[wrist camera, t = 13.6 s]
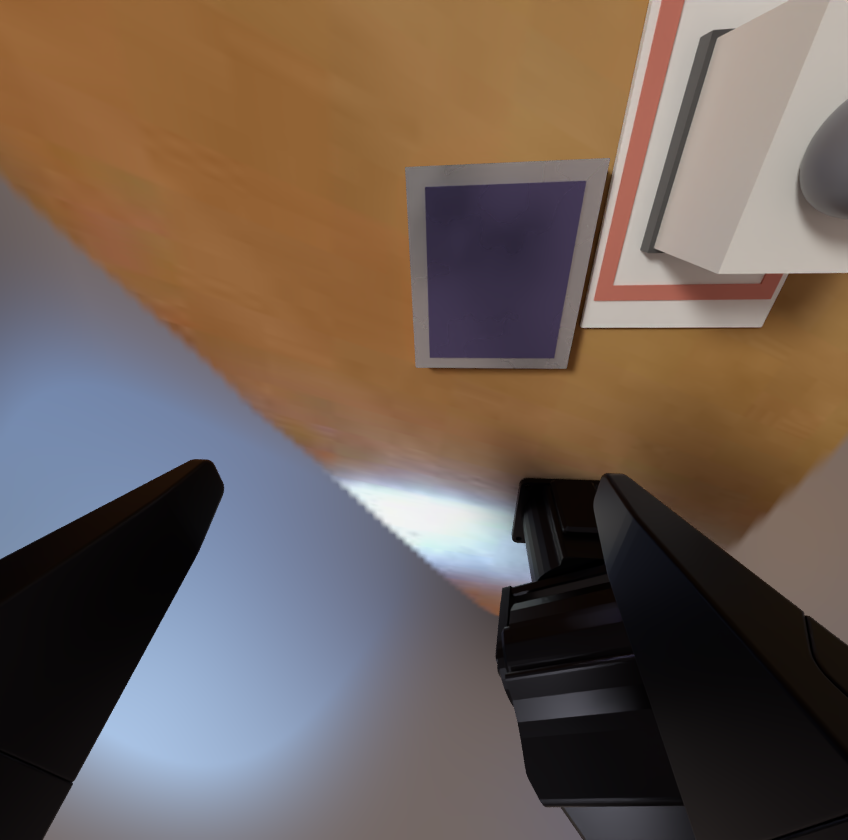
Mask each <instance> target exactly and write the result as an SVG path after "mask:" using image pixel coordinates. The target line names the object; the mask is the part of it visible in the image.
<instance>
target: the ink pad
mask: <svg viewBox="0 0 848 840" xmlns="http://www.w3.org/2000/svg"><path fill="white" fill-rule="evenodd" d="M609 161H610V158H602V159H579V160H556V161H534V162H511V163H488V164H465V165H443V166H420V167H405V172H406V191H407V210H408V229H409V248H410V267H411V286H412V305H413V324H414V343H415V362H416V368H536V369H567V364H568V359H569V354H570V350H571V345H572V340H573V335H574V330H575V325H576V321H577V316H578V311H579V306H580V301H581V297H582V292H583V287H584V282H585V277H586V272H587V268H588V263H589V258H590V253H591V248H592V243H593V239H594V234H595V229H596V224H597V219H598V214H599V210H600V205H601V200H602V195H603V190H604V186H605V181H606V176H607V171H608V166H609Z"/></svg>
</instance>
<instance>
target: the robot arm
mask: <svg viewBox="0 0 848 840" xmlns="http://www.w3.org/2000/svg"><path fill="white" fill-rule="evenodd" d="M526 485H529V486H526ZM223 493H224V484H223V482H222V480H221V478H220V475H219V473H218V471H217V469H216V467H215V465H214V464H213V462H211V461H210V460H202V459H194V460H190V461H188V462H186V463H184V464H182V465H180V466H178V467H176V468H174V469H173V470H171V471H169V472H167V473H165V474H163V475H161V476H159V477H157V478H155V479H153V480H151V481H150V482H148V483H146V484H144V485H142V486H140V487H138V488H136V489H134V490H132V491H130V492H128V493H127V494H125V495H123V496H121V497H119V498H117V499H115V500H113V501H112V502H109V503H107V504H105V505H103V506H102V507H100V508H98V509H96V510H94V511H92V512H90V513H88V514H86V515H84V516H83V517H80V518H79V519H77V520H75V521H73V522H71V523H69V524H67V525H65V526H63V527H61V528H59V529H57V530H56V531H54V532H52V533H50V534H48V535H46V536H44V537H42V538H40V539H38V540H36V541H34V542H32V543H31V544H29V545H27V546H25V547H23V548H21V549H19V550H17V551H15V552H13V553H11V554H9V555H7V556H6V557H4V558H2V559H0V840H43V838H44V836H45V835H46V833H47V831H48V829H49V827H50V825H51V823H52V822H53V820H54V818H55V816H56V814H57V812H58V811H59V809H60V807H61V805H62V803H63V801H64V799H65V798H66V796H67V794H68V792H69V790H70V789H71V786H72V785H73V783H72V782H73V781H74V780H75V779H76V777H77V775H78V773H79V771H80V769H81V768H82V766H83V764H84V762H85V760H86V758H87V757H88V755H89V753H90V751H91V749H92V747H93V745H94V744H95V742H96V740H97V738H98V736H99V735H100V733H101V731H102V729H103V727H104V725H105V723H106V722H107V720H108V718H109V716H110V714H111V713H112V711H113V709H114V707H115V705H116V703H117V702H118V700H119V698H120V696H121V694H122V692H123V690H124V689H125V687H126V685H127V683H128V681H129V679H130V677H131V676H132V674H133V672H134V670H135V668H136V667H137V665H138V663H139V661H140V659H141V657H142V656H143V654H144V652H145V650H146V648H147V646H148V644H149V643H150V641H151V639H152V637H153V635H154V633H155V632H156V630H157V628H158V626H159V624H160V622H161V620H162V619H163V617H164V615H165V613H166V611H167V610H168V607H169V606H170V604H171V602H172V600H173V598H174V597H175V595H176V593H177V591H178V589H179V587H180V586H181V584H182V582H183V580H184V578H185V576H186V575H187V573H188V571H189V569H190V567H191V565H192V564H193V562H194V560H195V558H196V556H197V554H198V552H199V550H200V548H201V545H202V543H203V541H204V539H205V536H206V534H207V531H208V529H209V527H210V524H211V522H212V519H213V517H214V515H215V513H216V510H217V508H218V505H219V503H220V501H221V498H222V496H223ZM512 540H513V541H514V542H516V543H526V549H527V555H528V561H529V567H530V573H531V579H532V582H530V583H527V584H523V585H519V586H515V587H511V586H508V587H504V588H502V597H501V603H500V614H499V625H498V636H497V645H496V661H497V664H498V665H497V669H498V673H499V676H500V677H501V679H502V682H503V685H504V689H505V691H506V694H507V696H508V698H509V700H510V702H511V704H512V705H513V706H514V709H515V713H516V717H517V721H518V727H519V732H520V738H521V744H522V750H523V756H524V763H525V769H526V774H527V777H528V779H529V781H530V783H531V784H532V786H533V788H534V790H535V792H536V794H537V796H538V798H539V800H540V801H541V803H542V804H543V805H544V806H545V807H561V809H562V810H563V811H564V813H565V814H566V816H567V817H568V819H569V820H570V822H571V823H572V825H573V826H574V827H575V829H576V830H577V831H578V833H579V835H580V836H581V838H582V839H583V840H848V645H847V644H845V643H844V642H843V641H841V640H840V639H839V638H837V637H836V636H835V635H834V634H832V633H831V632H830V631H828V630H827V629H826V628H824V627H823V626H822V625H820V624H819V623H818V622H817V621H815V620H814V619H813V618H811V617H810V616H805V615H804V612H803V611H802V610H801V609H799V608H798V607H797V606H796V605H794V604H793V603H792V602H790V601H789V600H788V599H786V598H785V597H784V596H783V595H781V594H780V593H778V592H777V591H776V590H775V589H773V588H772V587H771V586H770V585H768V584H767V583H766V582H764V581H763V580H762V579H760V578H759V577H758V576H757V575H755V574H754V573H753V572H751V571H750V570H749V569H747V568H746V567H745V566H743V565H742V564H741V563H740V562H738V561H737V560H736V559H734V558H733V557H732V556H731V555H729V554H728V553H727V552H725V551H724V550H723V549H721V548H720V547H719V546H718V545H716V544H715V543H714V542H712V541H711V540H710V539H708V538H707V537H706V536H705V535H703V534H702V533H701V532H699V531H698V530H697V529H695V528H694V527H693V526H692V525H690V524H689V523H688V522H686V521H685V520H684V519H682V518H681V517H680V516H679V515H677V514H676V513H675V512H673V511H672V510H671V509H669V508H668V507H667V506H666V505H664V504H663V503H662V502H660V501H659V500H658V499H656V498H655V497H654V496H653V495H651V494H650V493H649V492H647V491H646V490H645V489H643V488H642V487H641V486H640V485H638V484H637V483H636V482H634V481H633V480H632V479H630V478H629V477H628V476H626V475H624V474H615V473H606V474H604V475H603V476H602V477H601V480H600V481H592V480H564V479H535V478H525V479H523V480H521V481H520V484H519V490H518V497H517V503H516V509H515V516H514V522H513V528H512Z"/></svg>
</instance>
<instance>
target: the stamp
mask: <svg viewBox="0 0 848 840" xmlns="http://www.w3.org/2000/svg"><path fill="white" fill-rule="evenodd" d="M640 250H641V251H644V252H646V253H667V254H670V255H672V256H674V257H677V258H679V259H682V260H684V261H687V262H689V263H692V264H694V265H697V266H699V267H702V268H704V269H707V270H709V271H712V272H714V273H717V274H772V273H848V0H789V1H787V2H785V3H783V4H781V5H779V6H777V7H775V8H774V9H772V10H770V11H768V12H766V13H764V14H762V15H760V16H758V17H756V18H755V19H753V20H751V21H749V22H747V23H745V24H743V25H741V26H739V27H737V28H734V29H719V30H712V31H710V32H709V33H707V34H705V35H703V36H702V37H700V40H699V44H698V47H697V51H696V54H695V58H694V61H693V65H692V68H691V72H690V75H689V79H688V83H687V86H686V90H685V93H684V97H683V100H682V104H681V107H680V111H679V114H678V118H677V121H676V125H675V128H674V132H673V135H672V139H671V143H670V146H669V150H668V153H667V157H666V160H665V164H664V167H663V171H662V174H661V178H660V181H659V185H658V188H657V192H656V196H655V199H654V203H653V206H652V210H651V213H650V217H649V220H648V224H647V227H646V231H645V234H644V238H643V241H642V245H641V248H640Z"/></svg>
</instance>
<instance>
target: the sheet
mask: <svg viewBox="0 0 848 840" xmlns="http://www.w3.org/2000/svg"><path fill="white" fill-rule="evenodd" d="M787 1H789V0H649V5H648V10H647V14H646V19H645V24H644V28H643V33H642V38H641V42H640V47H639V52H638V56H637V61H636V66H635V70H634V75H633V80H632V84H631V89H630V94H629V98H628V103H627V108H626V112H625V117H624V122H623V126H622V131H621V136H620V140H619V145H618V150H617V154H616V159H615V164H614V168H613V173H612V178H611V182H610V187H609V192H608V196H607V201H606V206H605V210H604V215H603V220H602V224H601V229H600V234H599V238H598V243H597V248H596V252H595V257H594V262H593V266H592V271H591V276H590V280H589V285H588V290H587V294H586V299H585V304H584V308H583V313H582V318H581V322H580V327H581V328H679V327H762V325H763V323H764V321H765V319H766V317H767V315H768V314H769V312H770V310H771V308H772V306H773V304H774V302H775V300H776V298H777V296H778V294H779V292H780V290H781V288H782V286H783V284H784V282H785V280H786V278H787V276H788V274H789V273H772V274H717V273H714V272H712V271H709V270H707V269H704V268H702V267H699V266H697V265H694V264H692V263H689V262H687V261H684V260H682V259H679V258H677V257H674V256H672V255H670V254H667V253H646V252H644V251H641V250H640V248H641V245H642V241H643V238H644V234H645V231H646V227H647V224H648V220H649V217H650V213H651V210H652V206H653V203H654V199H655V196H656V192H657V188H658V185H659V181H660V178H661V174H662V171H663V167H664V164H665V160H666V157H667V153H668V150H669V146H670V143H671V139H672V135H673V132H674V128H675V125H676V121H677V118H678V114H679V111H680V107H681V104H682V100H683V97H684V93H685V90H686V86H687V83H688V79H689V75H690V72H691V68H692V65H693V61H694V58H695V54H696V51H697V47H698V44H699V40H700V37H702V36H703V35H705V34H707V33H709V32H710V31H712V30H719V29H734V28H737V27H739V26H741V25H743V24H745V23H747V22H749V21H751V20H753V19H755V18H756V17H758V16H760V15H762V14H764V13H766V12H768V11H770V10H772V9H774V8H775V7H777V6H779V5H781V4H783V3H785V2H787Z"/></svg>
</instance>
